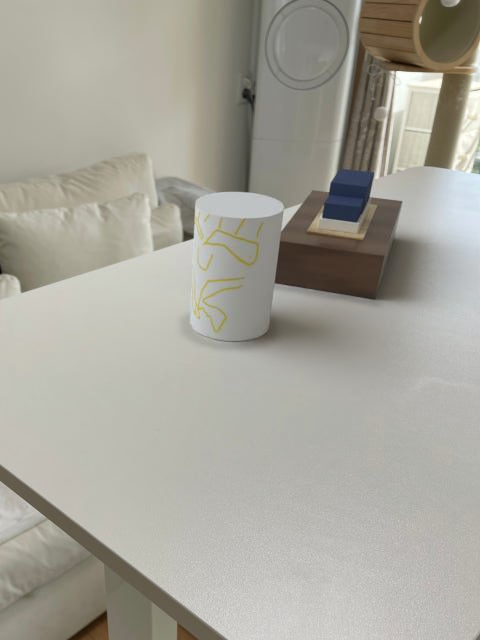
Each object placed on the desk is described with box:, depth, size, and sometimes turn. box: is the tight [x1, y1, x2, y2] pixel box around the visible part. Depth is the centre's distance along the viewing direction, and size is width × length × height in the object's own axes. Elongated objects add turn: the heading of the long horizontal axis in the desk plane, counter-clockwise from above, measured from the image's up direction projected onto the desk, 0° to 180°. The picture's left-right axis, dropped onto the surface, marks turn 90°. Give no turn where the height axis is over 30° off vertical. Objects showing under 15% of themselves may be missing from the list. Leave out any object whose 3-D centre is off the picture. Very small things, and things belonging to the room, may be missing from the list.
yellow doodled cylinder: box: [189, 191, 285, 342], centre depth 63 cm, size 8×8×12 cm
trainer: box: [318, 168, 375, 234], centre depth 78 cm, size 11×5×4 cm, turn 158°
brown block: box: [274, 189, 403, 300], centre depth 81 cm, size 22×12×5 cm, turn 158°
